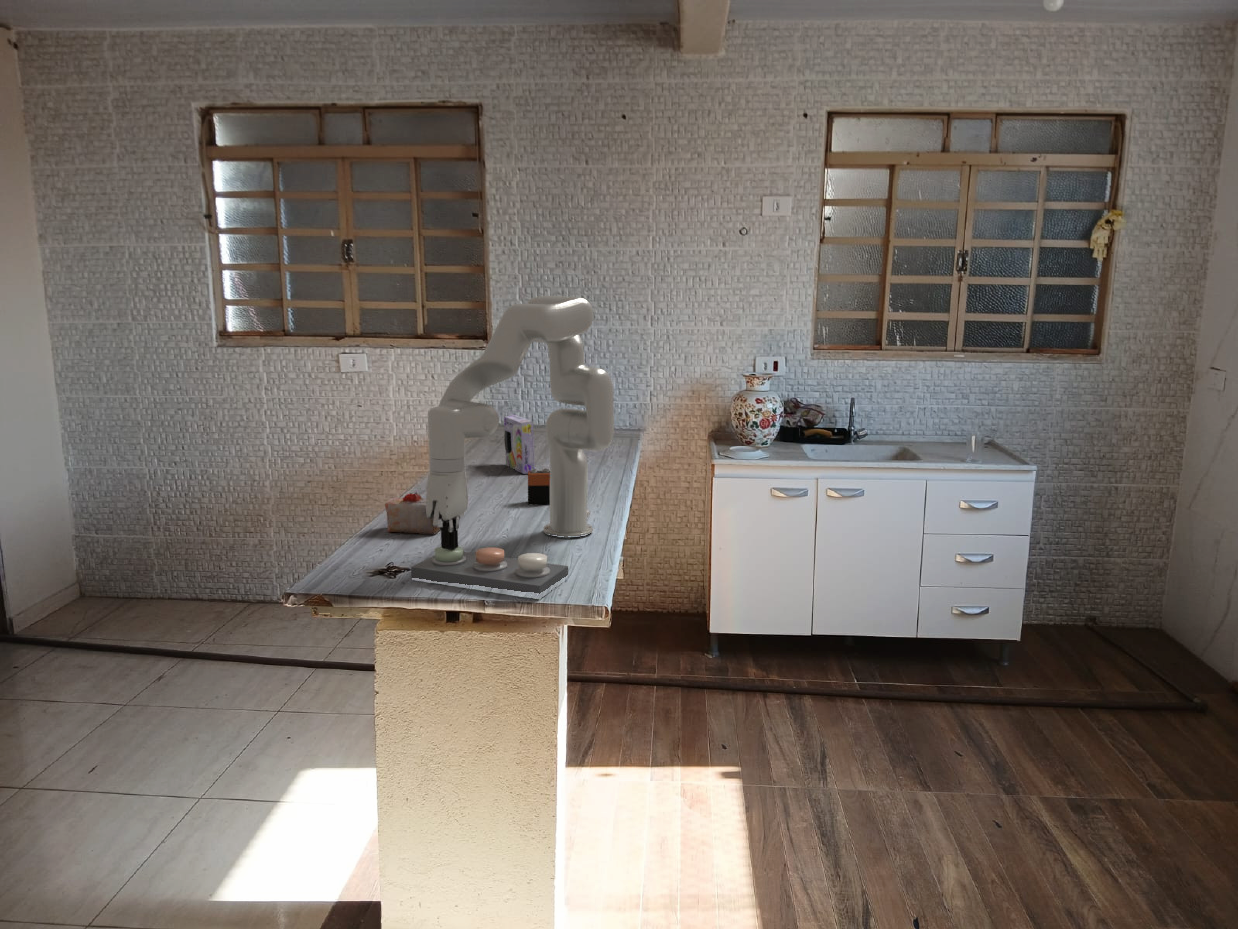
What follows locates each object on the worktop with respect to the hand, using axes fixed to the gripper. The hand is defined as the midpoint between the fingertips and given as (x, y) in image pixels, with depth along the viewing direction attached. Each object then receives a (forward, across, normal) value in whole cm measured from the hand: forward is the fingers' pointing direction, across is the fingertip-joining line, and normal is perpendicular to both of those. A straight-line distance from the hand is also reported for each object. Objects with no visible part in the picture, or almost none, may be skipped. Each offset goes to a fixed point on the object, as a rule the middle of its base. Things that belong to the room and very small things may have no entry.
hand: (449, 547), depth 193 cm
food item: (+6, -26, -26) cm, 37 cm away
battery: (+7, -66, -10) cm, 67 cm away
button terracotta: (+2, 0, +10) cm, 10 cm away
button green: (+3, 0, 0) cm, 3 cm away
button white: (+2, 0, +20) cm, 20 cm away
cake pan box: (+7, -106, -37) cm, 112 cm away
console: (+6, 0, +10) cm, 11 cm away
